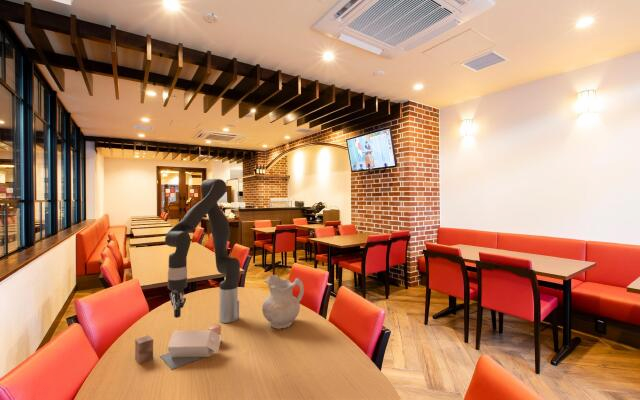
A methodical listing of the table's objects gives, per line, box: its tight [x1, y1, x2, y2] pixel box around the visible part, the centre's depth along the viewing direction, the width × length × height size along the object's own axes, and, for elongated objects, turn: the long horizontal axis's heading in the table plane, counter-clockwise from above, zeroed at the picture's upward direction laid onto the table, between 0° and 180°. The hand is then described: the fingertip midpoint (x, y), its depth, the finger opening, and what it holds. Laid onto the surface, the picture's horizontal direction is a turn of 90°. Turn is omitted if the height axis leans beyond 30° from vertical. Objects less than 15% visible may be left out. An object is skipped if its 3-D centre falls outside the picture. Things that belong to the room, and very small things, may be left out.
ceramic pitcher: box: [261, 274, 305, 330], centre depth 152 cm, size 22×20×25 cm
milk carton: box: [167, 329, 223, 358], centre depth 121 cm, size 7×7×19 cm
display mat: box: [159, 352, 204, 370], centre depth 121 cm, size 16×13×1 cm
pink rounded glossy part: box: [207, 323, 222, 344], centre depth 132 cm, size 6×6×7 cm
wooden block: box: [134, 334, 154, 365], centre depth 118 cm, size 5×5×8 cm
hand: (177, 316), depth 128 cm, fingers closed
